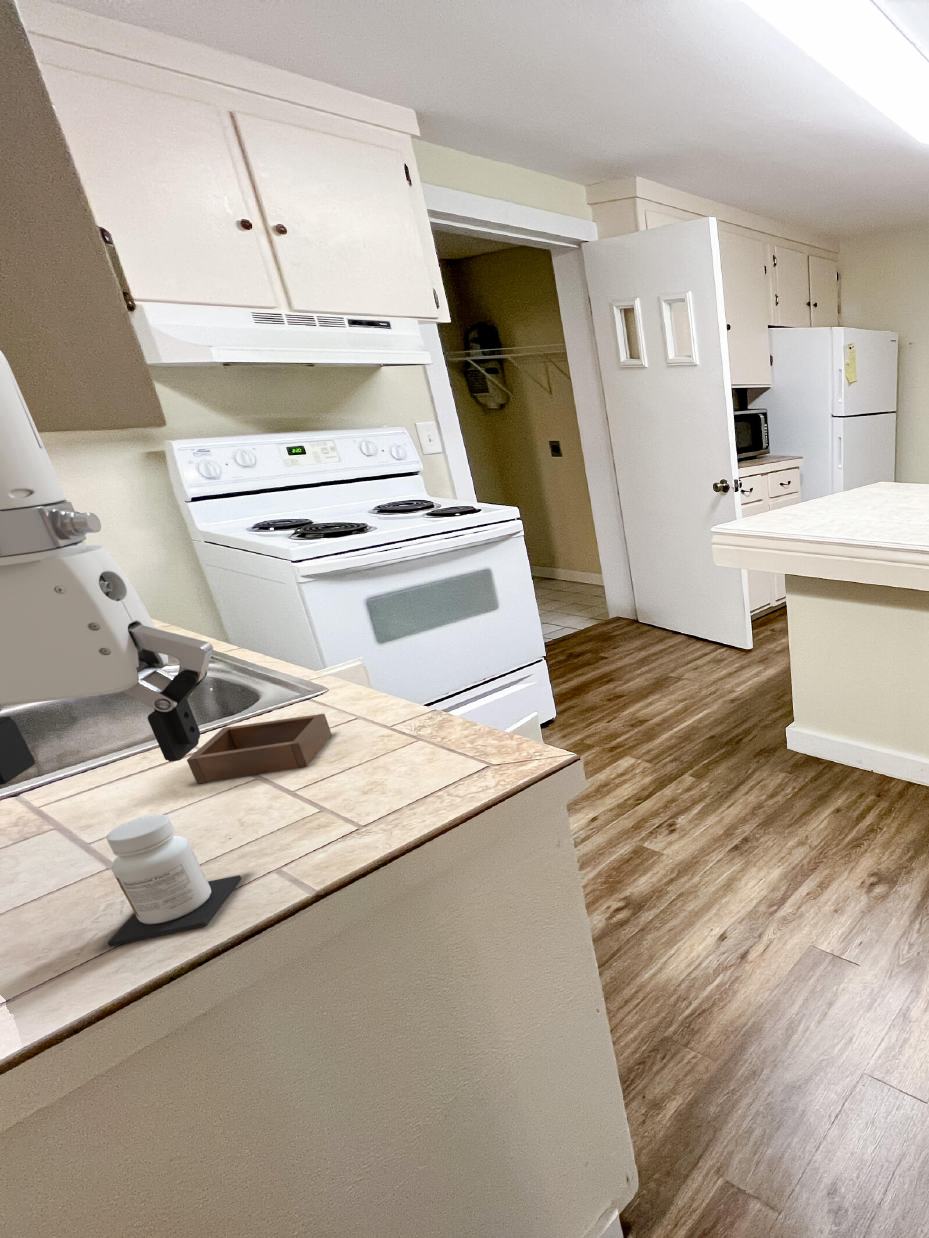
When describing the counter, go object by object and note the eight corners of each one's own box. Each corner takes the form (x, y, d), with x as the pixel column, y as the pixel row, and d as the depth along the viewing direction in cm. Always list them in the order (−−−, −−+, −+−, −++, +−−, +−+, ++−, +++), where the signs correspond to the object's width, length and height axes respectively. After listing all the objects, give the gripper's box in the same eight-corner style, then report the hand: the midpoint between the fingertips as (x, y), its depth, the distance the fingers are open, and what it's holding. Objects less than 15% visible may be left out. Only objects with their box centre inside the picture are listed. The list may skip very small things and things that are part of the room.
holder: (197, 784, 74) (186, 759, 73) (232, 749, 81) (223, 727, 80) (307, 766, 77) (298, 742, 76) (332, 735, 84) (324, 713, 83)
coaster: (109, 946, 52) (106, 942, 52) (154, 895, 58) (152, 892, 57) (206, 926, 54) (204, 922, 54) (241, 878, 59) (240, 874, 59)
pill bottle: (160, 894, 57) (121, 816, 54) (223, 883, 58) (189, 806, 55) (124, 931, 53) (80, 849, 50) (193, 918, 54) (154, 837, 51)
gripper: (191, 517, 51) (266, 723, 57) (-139, 533, 45) (-15, 759, 51) (129, 537, 44) (221, 768, 50) (-266, 558, 38) (-106, 814, 45)
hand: (102, 763), depth 51 cm, fingers open, 9 cm apart
